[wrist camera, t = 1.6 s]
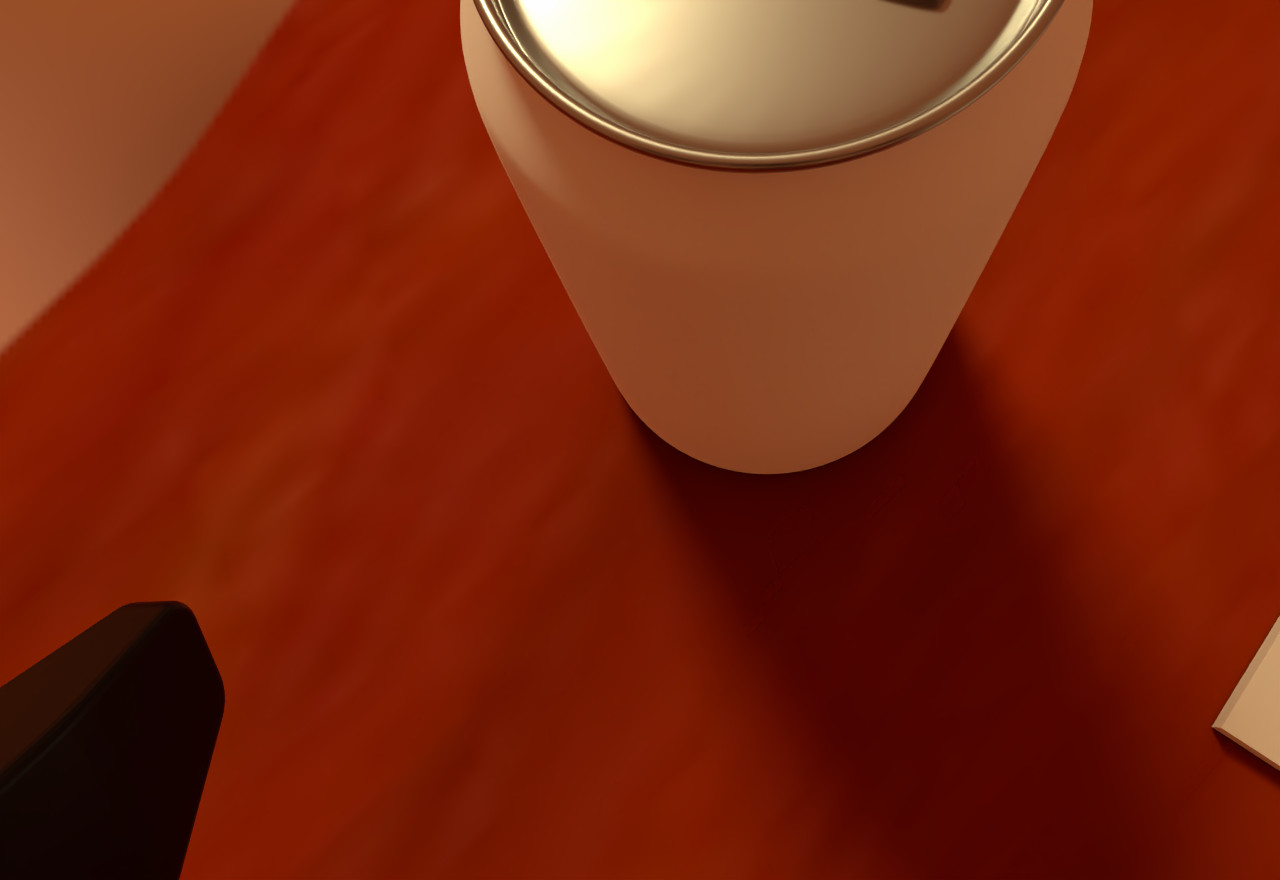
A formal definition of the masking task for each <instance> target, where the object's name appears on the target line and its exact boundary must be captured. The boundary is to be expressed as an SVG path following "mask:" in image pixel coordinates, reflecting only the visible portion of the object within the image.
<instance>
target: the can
mask: <svg viewBox="0 0 1280 880" xmlns="http://www.w3.org/2000/svg"><path fill="white" fill-rule="evenodd" d="M1092 7H1093V0H461V4H460V24H461V38H462V46H463V53H464V59H465V64H466V68H467V72H468V76H469V80H470V84H471V87H472V91H473V94H474V97H475V101H476V104H477V107H478V110H479V112H480V115H481V118H482V120H483V122H484V125H485V127H486V129H487V132H488V134H489V136H490V138H491V141H492V143H493V145H494V147H495V150H496V152H497V154H498V156H499V158H500V160H501V162H502V165H503V167H504V169H505V171H506V173H507V175H508V177H509V179H510V181H511V183H512V185H513V187H514V189H515V191H516V193H517V195H518V197H519V199H520V201H521V203H522V205H523V207H524V209H525V211H526V213H527V215H528V217H529V219H530V221H531V223H532V225H533V227H534V229H535V231H536V233H537V235H538V237H539V238H540V240H541V242H542V244H543V246H544V248H545V250H546V252H547V254H548V256H549V258H550V260H551V262H552V264H553V266H554V268H555V270H556V272H557V274H558V276H559V278H560V280H561V281H562V283H563V285H564V287H565V289H566V291H567V293H568V295H569V297H570V299H571V301H572V303H573V305H574V307H575V309H576V311H577V312H578V314H579V316H580V318H581V320H582V322H583V324H584V326H585V328H586V330H587V332H588V334H589V335H590V337H591V339H592V341H593V343H594V345H595V347H596V349H597V351H598V353H599V354H600V356H601V358H602V360H603V362H604V364H605V366H606V368H607V369H608V371H609V373H610V375H611V377H612V378H613V380H614V382H615V384H616V385H617V387H618V389H619V390H620V392H621V394H622V395H623V397H624V398H625V400H626V401H627V403H628V404H629V406H630V407H631V408H632V409H633V411H634V412H635V413H636V414H637V415H638V417H639V418H640V419H641V420H642V421H643V422H644V423H645V424H646V425H647V426H648V427H649V428H650V429H651V430H652V431H653V432H654V433H656V434H657V435H658V436H659V437H660V438H662V439H663V440H664V441H666V442H667V443H669V444H670V445H671V446H673V447H675V448H676V449H678V450H679V451H681V452H683V453H685V454H687V455H689V456H691V457H693V458H695V459H697V460H700V461H702V462H705V463H707V464H710V465H713V466H716V467H720V468H723V469H727V470H732V471H737V472H744V473H754V474H780V473H790V472H797V471H803V470H807V469H811V468H815V467H818V466H822V465H825V464H828V463H830V462H833V461H835V460H838V459H840V458H842V457H844V456H846V455H848V454H850V453H852V452H854V451H856V450H857V449H859V448H861V447H862V446H864V445H865V444H867V443H868V442H870V441H871V440H872V439H874V438H875V437H876V436H877V435H879V434H880V433H881V432H882V431H883V430H885V429H886V428H887V427H888V426H889V425H890V424H891V423H892V422H893V421H894V420H895V419H896V418H897V417H898V416H899V414H900V413H901V412H902V411H903V410H904V409H905V407H906V406H907V405H908V403H909V402H910V401H911V399H912V398H913V396H914V395H915V393H916V392H917V390H918V388H919V387H920V385H921V384H922V382H923V380H924V379H925V377H926V375H927V373H928V371H929V370H930V368H931V366H932V364H933V362H934V361H935V359H936V357H937V355H938V353H939V351H940V350H941V348H942V346H943V344H944V342H945V340H946V339H947V337H948V335H949V333H950V331H951V329H952V327H953V326H954V324H955V322H956V320H957V318H958V316H959V314H960V312H961V310H962V309H963V307H964V305H965V303H966V301H967V299H968V297H969V295H970V294H971V292H972V290H973V288H974V286H975V284H976V282H977V280H978V278H979V276H980V275H981V273H982V271H983V269H984V267H985V265H986V263H987V261H988V259H989V257H990V256H991V254H992V252H993V250H994V248H995V246H996V244H997V242H998V240H999V238H1000V237H1001V235H1002V233H1003V231H1004V229H1005V227H1006V225H1007V223H1008V221H1009V219H1010V217H1011V215H1012V213H1013V211H1014V210H1015V208H1016V206H1017V204H1018V202H1019V200H1020V198H1021V196H1022V194H1023V192H1024V190H1025V188H1026V186H1027V184H1028V182H1029V180H1030V178H1031V176H1032V174H1033V173H1034V171H1035V169H1036V167H1037V165H1038V163H1039V161H1040V159H1041V157H1042V155H1043V153H1044V151H1045V149H1046V147H1047V145H1048V143H1049V141H1050V139H1051V136H1052V134H1053V132H1054V130H1055V128H1056V126H1057V124H1058V121H1059V119H1060V117H1061V115H1062V113H1063V110H1064V108H1065V106H1066V104H1067V101H1068V99H1069V96H1070V94H1071V92H1072V89H1073V86H1074V83H1075V80H1076V77H1077V74H1078V71H1079V67H1080V64H1081V61H1082V57H1083V54H1084V51H1085V47H1086V43H1087V38H1088V34H1089V28H1090V23H1091V16H1092Z"/></svg>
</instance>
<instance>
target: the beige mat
mask: <svg viewBox="0 0 1280 880" xmlns="http://www.w3.org/2000/svg"><path fill="white" fill-rule="evenodd" d="M1212 727H1213V728H1214V729H1216V730H1217V731H1219V732H1220V733H1222V734H1223V735H1225V736H1227V737H1228V738H1230V739H1231V740H1233V741H1234V742H1236V743H1237V744H1239V745H1240V746H1242V747H1243V748H1245V749H1247V750H1248V751H1250V752H1251V753H1253V754H1254V755H1256V756H1257V757H1259V758H1260V759H1262V760H1263V761H1265V762H1267V763H1268V764H1270V765H1271V766H1273V767H1274V768H1276V769H1277V770H1279V771H1280V616H1279V618H1278V619H1277V621H1276V623H1275V624H1274V626H1273V628H1272V629H1271V631H1270V632H1269V634H1268V636H1267V637H1266V639H1265V641H1264V642H1263V644H1262V646H1261V647H1260V649H1259V650H1258V652H1257V654H1256V655H1255V657H1254V659H1253V660H1252V662H1251V663H1250V665H1249V667H1248V668H1247V670H1246V672H1245V673H1244V675H1243V677H1242V678H1241V680H1240V681H1239V683H1238V685H1237V686H1236V688H1235V690H1234V691H1233V693H1232V694H1231V696H1230V698H1229V699H1228V701H1227V703H1226V704H1225V706H1224V708H1223V709H1222V711H1221V712H1220V714H1219V716H1218V717H1217V719H1216V721H1215V722H1214V724H1213V725H1212Z"/></svg>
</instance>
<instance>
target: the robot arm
mask: <svg viewBox="0 0 1280 880" xmlns="http://www.w3.org/2000/svg"><path fill="white" fill-rule="evenodd" d="M224 705H225V691H224V686H223V681H222V678H221V675H220V673H219V671H218V668H217V666H216V664H215V661H214V659H213V657H212V654H211V652H210V650H209V647H208V645H207V643H206V640H205V638H204V636H203V633H202V631H201V629H200V626H199V624H198V622H197V619H196V617H195V615H194V614H193V612H192V610H191V609H190V608H189V607H188V606H187V605H185V604H184V603H181V602H178V601H154V602H135V603H129V604H126V605H123V606H122V607H120V608H118V609H117V610H115V611H114V612H112V613H111V614H109V615H108V616H106V617H105V618H103V619H102V620H100V621H99V622H97V623H96V624H94V625H93V626H91V627H90V628H88V629H87V630H85V631H84V632H82V633H81V634H79V635H78V636H76V637H75V638H74V639H72V640H71V641H69V642H68V643H66V644H65V645H63V646H62V647H60V648H59V649H57V650H56V651H54V652H53V653H51V654H50V655H48V656H47V657H45V658H44V659H42V660H41V661H39V662H38V663H36V664H35V665H33V666H32V667H30V668H29V669H27V670H26V671H24V672H23V673H21V674H20V675H18V676H17V677H15V678H14V679H12V680H11V681H9V682H8V683H6V684H5V685H3V686H2V687H1V688H0V880H179V878H180V874H181V871H182V867H183V863H184V860H185V856H186V852H187V848H188V845H189V841H190V837H191V833H192V830H193V826H194V822H195V818H196V815H197V811H198V807H199V803H200V800H201V796H202V792H203V789H204V785H205V781H206V777H207V774H208V770H209V766H210V762H211V759H212V755H213V751H214V747H215V744H216V740H217V736H218V733H219V729H220V725H221V721H222V718H223V713H224Z"/></svg>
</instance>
